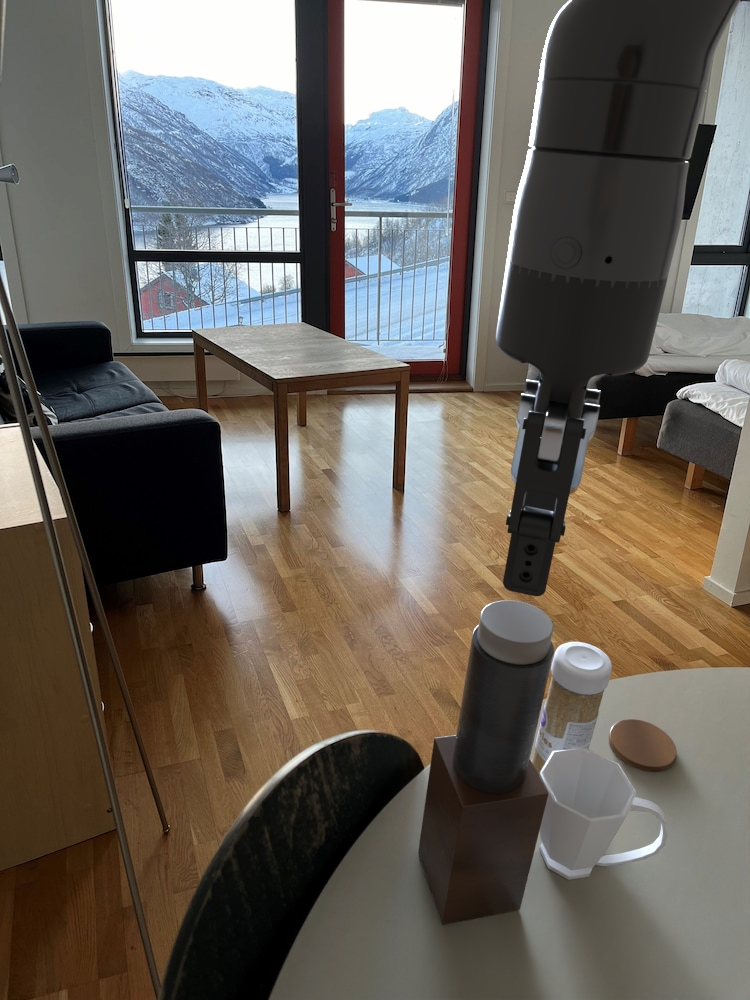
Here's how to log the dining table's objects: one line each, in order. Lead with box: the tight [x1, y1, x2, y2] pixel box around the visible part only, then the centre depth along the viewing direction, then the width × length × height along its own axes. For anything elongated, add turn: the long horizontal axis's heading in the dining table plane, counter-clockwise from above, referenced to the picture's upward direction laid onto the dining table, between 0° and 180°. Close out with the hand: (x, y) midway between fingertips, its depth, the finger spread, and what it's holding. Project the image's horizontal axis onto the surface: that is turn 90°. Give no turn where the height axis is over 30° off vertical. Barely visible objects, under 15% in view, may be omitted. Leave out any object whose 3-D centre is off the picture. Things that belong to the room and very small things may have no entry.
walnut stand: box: [417, 734, 549, 926], centre depth 53 cm, size 6×6×12 cm
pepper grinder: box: [453, 599, 555, 794], centre depth 47 cm, size 5×5×12 cm
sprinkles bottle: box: [530, 641, 613, 775], centre depth 62 cm, size 5×5×13 cm
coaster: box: [608, 718, 678, 772], centre depth 69 cm, size 6×6×1 cm
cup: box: [538, 748, 668, 881], centre depth 56 cm, size 7×10×8 cm
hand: (531, 551), depth 42 cm, fingers open, 8 cm apart
